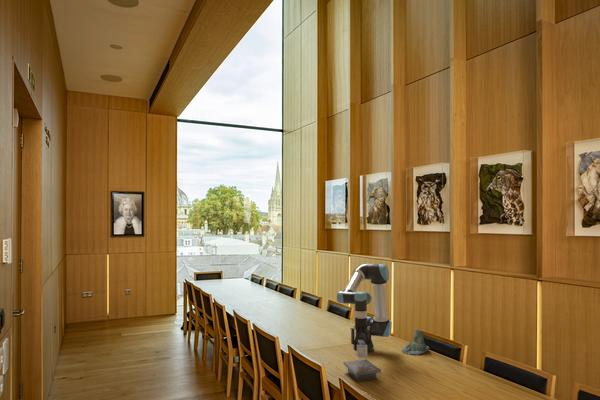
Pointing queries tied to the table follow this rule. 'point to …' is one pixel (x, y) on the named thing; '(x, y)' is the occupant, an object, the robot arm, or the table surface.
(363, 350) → the medicine box
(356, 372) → the display plinth
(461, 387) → the table surface
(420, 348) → the tree stump
